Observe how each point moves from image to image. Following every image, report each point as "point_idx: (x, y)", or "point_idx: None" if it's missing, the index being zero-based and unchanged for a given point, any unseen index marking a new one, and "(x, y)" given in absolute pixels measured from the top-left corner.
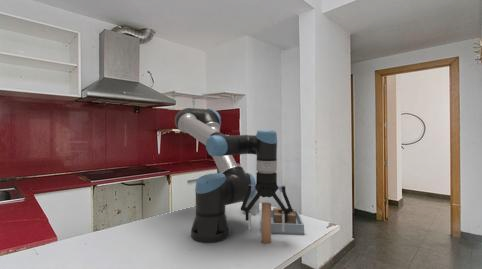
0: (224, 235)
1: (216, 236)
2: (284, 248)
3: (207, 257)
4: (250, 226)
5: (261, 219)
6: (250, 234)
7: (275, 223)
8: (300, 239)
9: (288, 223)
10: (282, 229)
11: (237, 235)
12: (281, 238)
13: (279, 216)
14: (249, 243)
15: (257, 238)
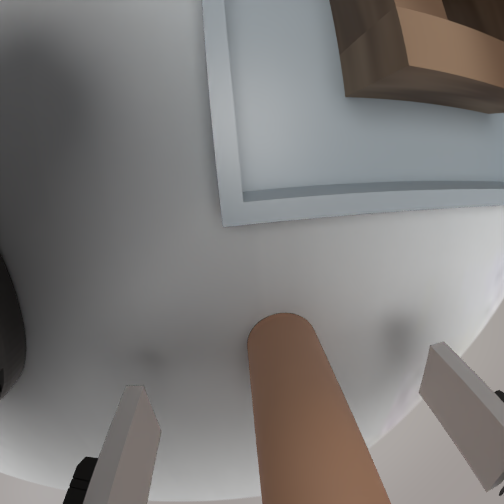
0: (15, 367)
1: (1, 398)
2: (383, 389)
3: (67, 471)
4: (155, 455)
5: (215, 94)
6: (140, 254)
7: (396, 204)
8: (485, 261)
9: (475, 103)
10: (427, 404)
11: (59, 290)
12: (391, 274)
13: (453, 81)
14: (173, 386)
15: (210, 314)
